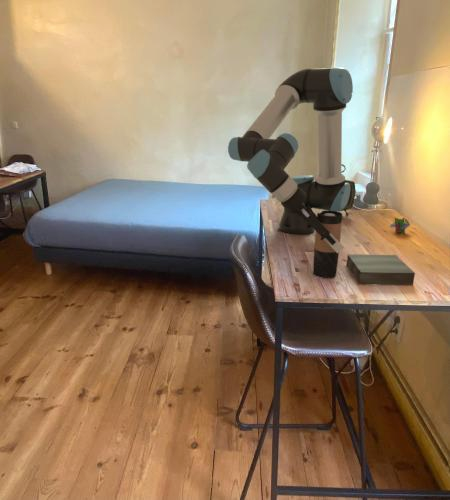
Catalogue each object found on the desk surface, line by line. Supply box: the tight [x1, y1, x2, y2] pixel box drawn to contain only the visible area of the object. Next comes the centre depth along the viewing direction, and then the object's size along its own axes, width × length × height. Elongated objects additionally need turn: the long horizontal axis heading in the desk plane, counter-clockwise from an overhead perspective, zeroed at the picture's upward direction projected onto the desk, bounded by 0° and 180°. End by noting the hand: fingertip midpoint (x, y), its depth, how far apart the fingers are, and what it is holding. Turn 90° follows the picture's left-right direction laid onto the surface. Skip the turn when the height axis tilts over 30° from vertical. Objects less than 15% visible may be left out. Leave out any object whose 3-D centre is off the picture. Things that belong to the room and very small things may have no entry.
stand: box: [346, 253, 416, 286], centre depth 135 cm, size 16×16×4 cm
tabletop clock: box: [341, 163, 356, 217], centre depth 204 cm, size 14×9×25 cm, turn 114°
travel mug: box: [312, 210, 343, 279], centre depth 133 cm, size 8×8×20 cm
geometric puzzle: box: [389, 217, 411, 235], centre depth 180 cm, size 7×7×8 cm
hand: (336, 244), depth 133 cm, fingers open, 11 cm apart
